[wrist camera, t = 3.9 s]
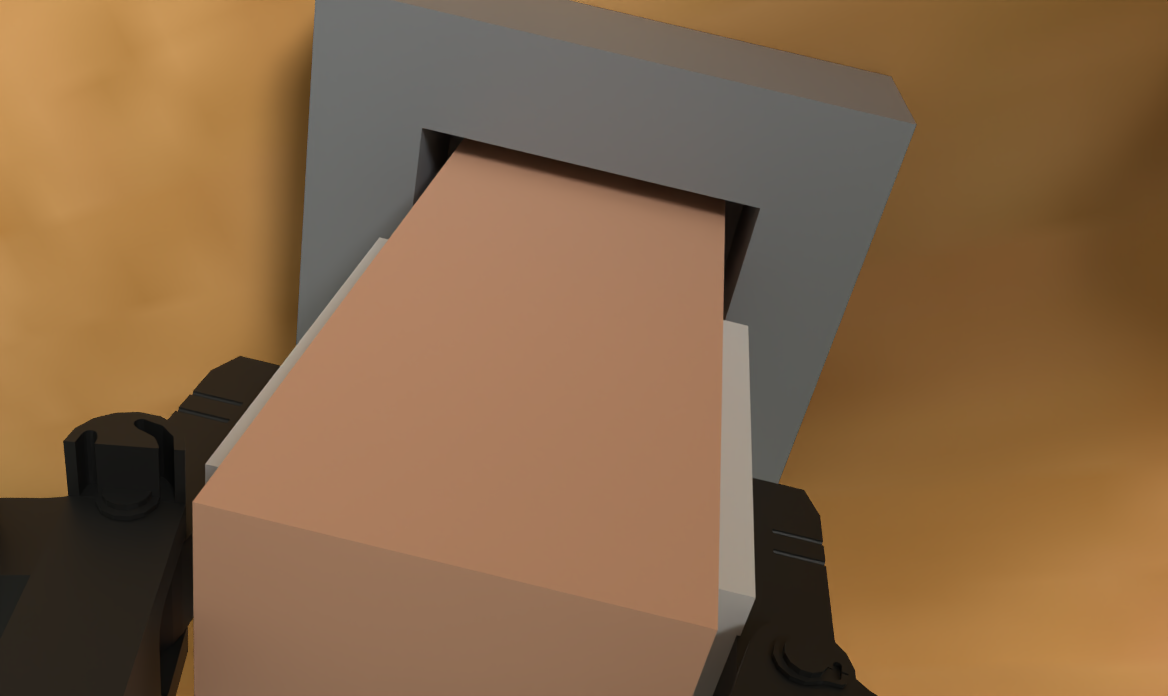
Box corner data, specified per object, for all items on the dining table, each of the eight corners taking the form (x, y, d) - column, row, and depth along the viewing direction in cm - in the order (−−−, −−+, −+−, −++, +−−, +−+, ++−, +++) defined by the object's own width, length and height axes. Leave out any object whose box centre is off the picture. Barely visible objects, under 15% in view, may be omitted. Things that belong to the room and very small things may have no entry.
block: (725, 177, 19) (717, 630, 9) (665, 385, 22) (606, 922, 12) (478, 118, 19) (192, 502, 9) (447, 333, 22) (194, 821, 12)
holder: (890, 76, 19) (916, 124, 16) (742, 485, 24) (744, 571, 21) (374, -46, 19) (316, -18, 16) (337, 386, 24) (290, 460, 21)
